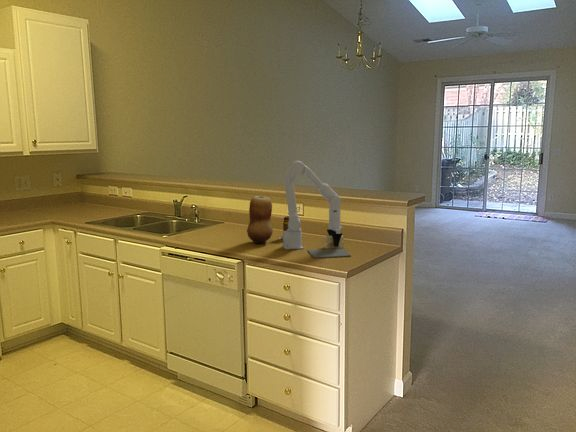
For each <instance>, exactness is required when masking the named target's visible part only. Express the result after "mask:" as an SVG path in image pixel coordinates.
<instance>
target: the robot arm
mask: <svg viewBox="0 0 576 432" xmlns="http://www.w3.org/2000/svg"><path fill="white" fill-rule="evenodd" d="M299 175H300V176H301V175H302V176H303V177H304V176H305V177H307V178H308V179H309V180H310V181H311V182H312V183H313V184H314V185H315V186H316V187H317V191H318V193H319V194H320V195H321V196H322V197H323V198H324V199H325V200H326V201H327V202H328V203H329V209H328V228H327V229H326V232H327V234H328V236H332V237H333V243H334V247H336V246H339V242H340V238H341V236H342V235H343V232H341V229H343V228H344V227H343V226H341V204H342V199H341V197H340V196H339V194H337V192H336V191H334V189H332V187H331V185H330V184H328V183H327V182H326V183H325V182H324V183H323V182H322V181H321V180H320V179H319V177H317V175H316V174H315V173H314V171H312V170H311V168H309V167H308V166H307V165H306V164H304V163H303V161H301V160H294V161H293V162H292V163H291V164H290V165H289V166H288V169H287V171H286V173H285V175H284V177H283V181H284V189H285V196H286V204H287V212H288V216H289V221H288V227H289V228H288V229H287V231H282V236H283V239H282V247H283V248H284V250H298V249H299V250H300V249H301V250H302V249H304V247H303V245H302V239H303V238H302V235H303V234H302V231H303V230H302V228H301V227H302V226H301V225H302V224H301V222H302V221H301V219H300V217H299V214H298V208H297V199H296V192H295V185H294V180H296V178H297V177H298V176H299Z"/></svg>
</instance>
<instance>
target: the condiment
mask: <svg viewBox="0 0 576 432" xmlns="http://www.w3.org/2000/svg"><path fill="white" fill-rule="evenodd" d="M288 221H289V215H288V216H283V223H282V224H283V226H282V227H283V228H282V230H283V231H287V229H288V228H289V227H288ZM283 231H282V232H283ZM278 240H283V235H280V237H279V238H278Z"/></svg>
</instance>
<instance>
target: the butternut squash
mask: <svg viewBox="0 0 576 432" xmlns="http://www.w3.org/2000/svg"><path fill="white" fill-rule="evenodd" d="M249 201H250V202H249V207H248V209H249V210H248V213H249V214H248V215H249V223H248V226H247V230H246V232H247V237H248V238H249V239H250V240H251V241H252V242H253V243H255V244H263V243H266V242H267V241H268V240H270V239H271V237H272V235H273V231H274V230H273V226H272V223H271V217H272V213H273V202H272V198H270V197H268V196H264V195H263V196H262V195H256V196H253V197H251V199H250V200H249Z"/></svg>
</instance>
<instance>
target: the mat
mask: <svg viewBox="0 0 576 432" xmlns="http://www.w3.org/2000/svg"><path fill="white" fill-rule="evenodd" d="M307 252H308V253H309V255H310V256H311V257H312V258H313V259H326V258H328V259H329V258H331V259H332V257H333V258H346V257H347V258H351V257H352V255H351V253H349V252H348V251H347V250H346V249H344V248H328V249H326V248H321V249H318V248H317V249H308V250H307Z"/></svg>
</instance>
